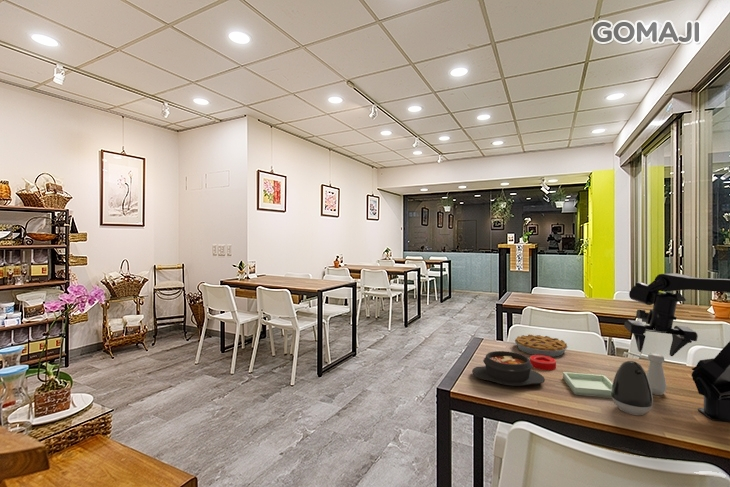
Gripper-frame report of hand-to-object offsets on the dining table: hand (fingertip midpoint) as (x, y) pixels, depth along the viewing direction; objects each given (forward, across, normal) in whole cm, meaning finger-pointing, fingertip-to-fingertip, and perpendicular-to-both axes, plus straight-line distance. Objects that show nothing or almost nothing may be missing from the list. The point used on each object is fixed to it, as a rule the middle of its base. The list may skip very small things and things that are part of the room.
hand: (655, 353), depth 121 cm
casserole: (+16, +46, +4) cm, 49 cm away
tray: (+14, +19, +5) cm, 24 cm away
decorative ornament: (+18, +30, -14) cm, 38 cm away
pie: (+21, +27, -35) cm, 49 cm away
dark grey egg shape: (+12, +13, +20) cm, 26 cm away
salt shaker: (+13, -1, +3) cm, 13 cm away
